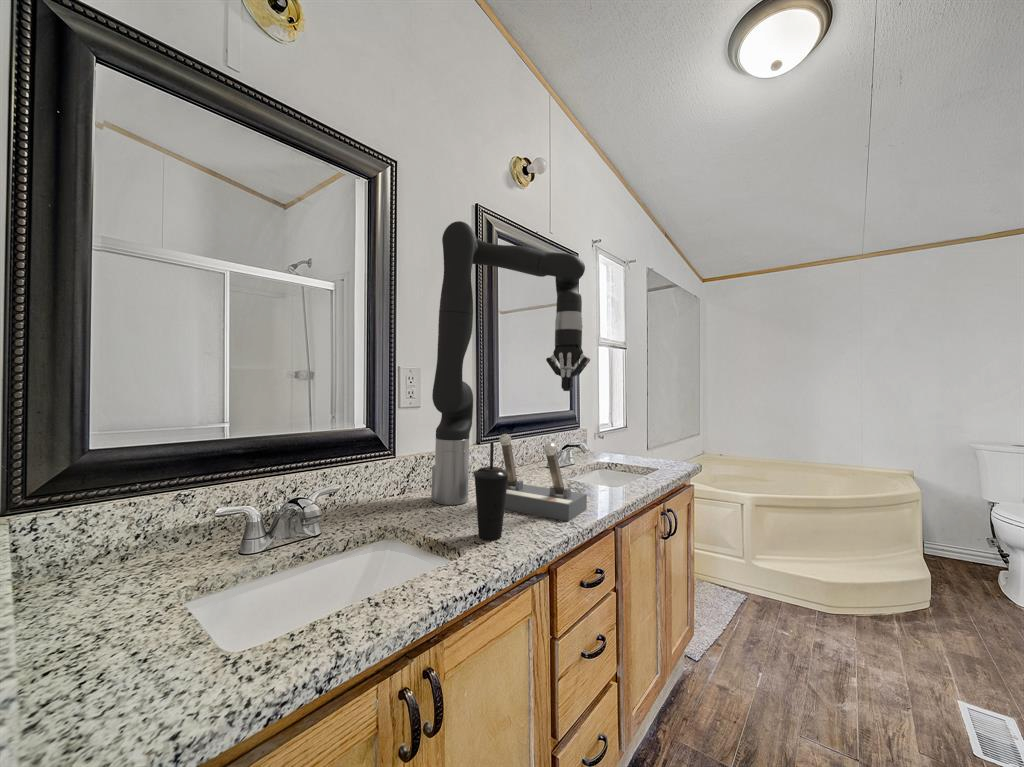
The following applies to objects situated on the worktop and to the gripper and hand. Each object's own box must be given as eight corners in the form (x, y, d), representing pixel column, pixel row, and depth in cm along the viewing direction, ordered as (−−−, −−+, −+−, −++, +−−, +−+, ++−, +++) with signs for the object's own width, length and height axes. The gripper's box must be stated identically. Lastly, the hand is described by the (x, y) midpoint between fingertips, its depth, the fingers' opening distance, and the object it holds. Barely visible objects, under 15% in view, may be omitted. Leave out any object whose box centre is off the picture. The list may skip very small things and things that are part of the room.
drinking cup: (464, 536, 91) (466, 442, 91) (490, 528, 96) (492, 439, 96) (489, 546, 86) (491, 446, 86) (515, 536, 91) (517, 443, 91)
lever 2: (552, 495, 110) (540, 447, 103) (556, 487, 112) (545, 439, 106) (563, 497, 108) (552, 448, 102) (568, 489, 110) (557, 440, 104)
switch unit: (485, 505, 114) (485, 481, 114) (508, 495, 125) (508, 474, 125) (568, 521, 102) (569, 495, 102) (586, 509, 113) (587, 485, 113)
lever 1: (505, 487, 117) (496, 436, 112) (510, 480, 119) (502, 431, 115) (515, 488, 115) (506, 437, 110) (521, 482, 118) (512, 432, 113)
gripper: (541, 328, 120) (539, 390, 120) (586, 326, 114) (584, 391, 114) (552, 331, 127) (551, 390, 127) (595, 329, 120) (594, 391, 120)
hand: (567, 390), depth 120 cm, fingers closed
